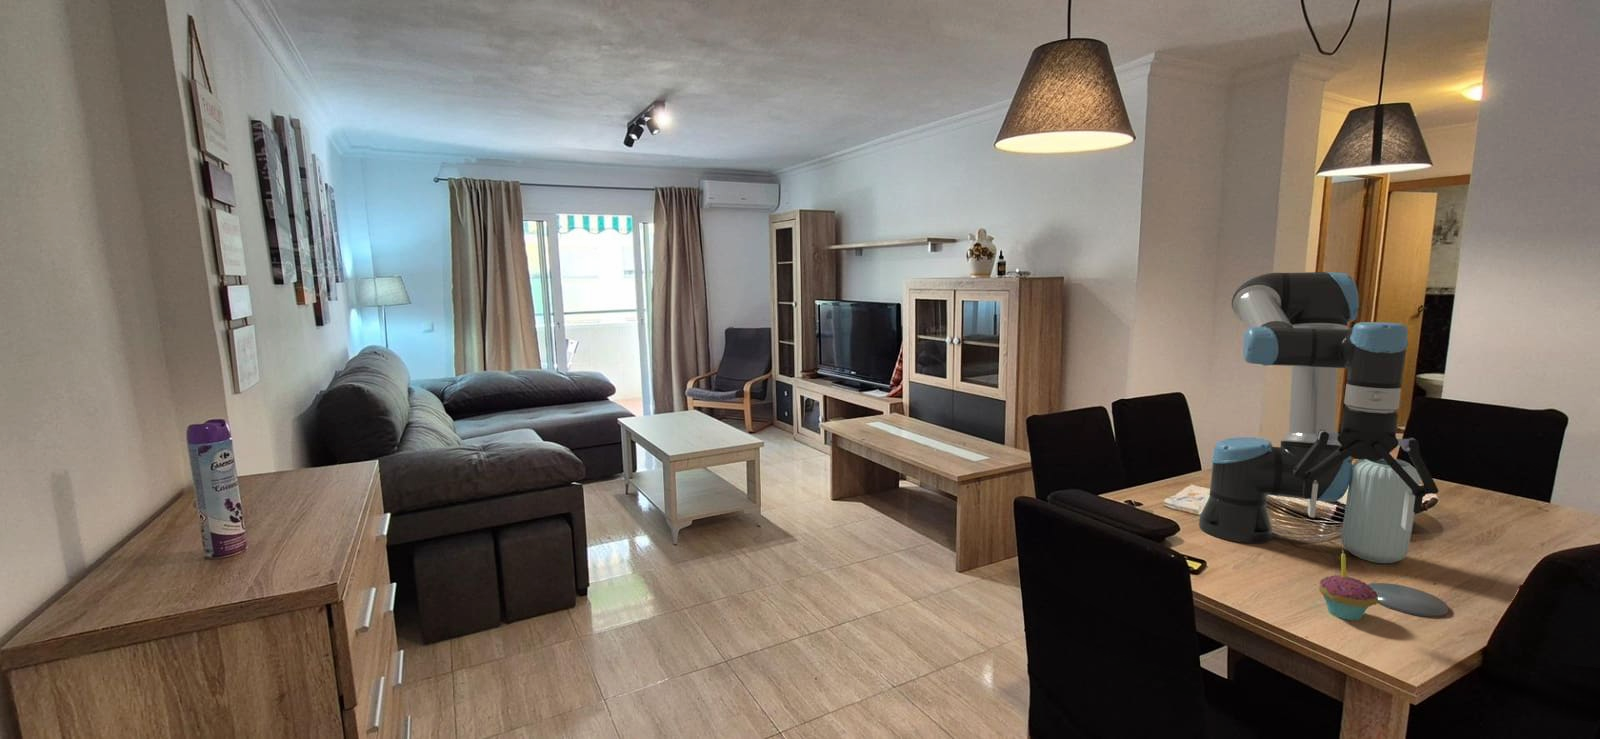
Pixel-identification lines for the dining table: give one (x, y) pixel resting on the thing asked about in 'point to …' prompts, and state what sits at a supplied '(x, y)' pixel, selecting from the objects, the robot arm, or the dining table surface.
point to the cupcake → (1347, 594)
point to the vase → (1377, 511)
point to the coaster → (1409, 600)
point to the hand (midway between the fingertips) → (1357, 521)
